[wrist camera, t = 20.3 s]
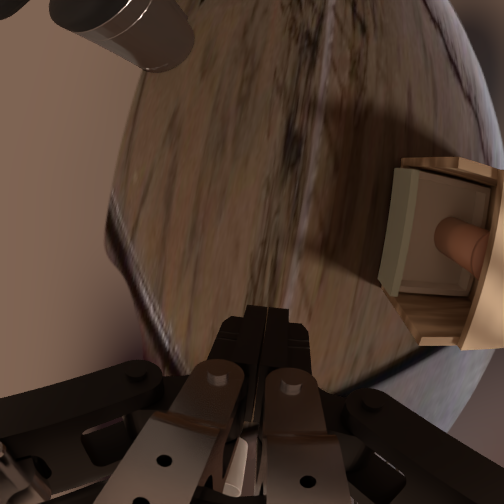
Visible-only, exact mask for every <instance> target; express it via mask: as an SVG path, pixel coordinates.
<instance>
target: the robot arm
mask: <svg viewBox="0 0 504 504" xmlns="http://www.w3.org/2000/svg"><path fill="white" fill-rule="evenodd" d="M28 1H29V0H0V20H3V19H5V18H8V17H10V16H12V15H13V14H15V13H16V12H17V11H18V10H19V9H21V8H22V7H23V6H24V5H25V4H26V3H27V2H28ZM49 12H50V16H51V18H52V20H53V21H54V22H55V23H56V24H57V25H59V26H61V27H63V28H65V29H67V30H69V31H71V32H73V33H76V34H77V35H80V36H82V37H84V38H86V39H88V40H90V41H92V42H94V43H96V44H98V45H100V46H102V47H104V48H105V49H107V50H109V51H111V52H113V53H115V54H117V55H119V56H121V57H122V58H124V59H126V60H128V61H129V62H131V63H133V64H135V65H137V66H138V67H140V68H142V69H144V70H146V71H148V72H153V73H159V72H164V71H167V70H170V69H172V68H174V67H176V66H177V65H179V64H180V63H181V62H182V61H184V59H185V58H186V57H187V56H188V54H189V53H190V51H191V49H192V47H193V44H194V32H193V30H192V28H191V26H190V25H189V24H188V22H187V15H186V14H185V13H184V11H183V10H182V9H181V8H180V6H179V5H178V4H177V3H176V1H175V0H50V3H49ZM266 315H267V307H263V306H254V305H247V307H246V311H245V314H244V317H235V316H231V317H229V318H228V319H226V320H225V321H224V322H223V323H222V325H221V327H220V330H219V332H218V334H217V337H216V339H215V342H214V344H213V346H212V349H211V351H210V354H209V356H208V358H207V360H206V361H203V362H201V363H199V364H197V365H196V366H195V367H194V369H193V370H192V372H191V374H190V375H186V376H163V375H162V371H161V369H160V368H159V367H158V366H157V365H155V364H154V363H152V362H149V361H145V360H131V361H127V362H124V363H121V364H118V365H115V366H111V367H109V368H105V369H102V370H99V371H96V372H93V373H90V374H86V375H83V376H80V377H77V378H73V379H70V380H67V381H63V382H60V383H56V384H53V385H50V386H46V387H43V388H38V389H35V390H31V391H27V392H24V393H20V394H16V395H12V396H8V397H4V398H0V504H352V503H351V497H352V498H353V499H354V500H356V501H357V502H358V503H359V504H504V468H503V467H501V466H500V465H498V464H496V463H494V462H493V461H491V460H489V459H488V458H486V457H484V456H483V455H481V454H479V453H478V452H476V451H474V450H473V449H471V448H470V447H468V446H466V445H465V444H463V443H461V442H460V441H458V440H457V439H455V438H453V437H452V436H450V435H449V434H447V433H446V432H444V431H442V430H441V429H439V428H438V427H436V426H435V425H433V424H431V423H430V422H428V421H427V420H425V419H424V418H422V417H421V416H419V415H418V414H416V413H415V412H413V411H411V410H410V409H408V408H407V407H405V406H404V405H402V404H401V403H399V402H398V401H396V400H395V399H393V398H392V397H390V396H389V395H387V394H386V393H384V392H382V391H380V390H376V389H371V388H362V389H358V390H355V391H353V392H351V393H350V394H349V395H348V397H347V398H343V397H339V396H335V395H332V394H329V393H327V392H325V391H323V390H322V389H320V388H319V387H318V384H317V381H316V379H315V378H314V377H313V376H312V371H311V358H310V349H309V348H310V346H309V335H308V331H307V330H306V328H305V327H304V326H303V325H302V324H299V323H289V309H282V308H272V307H269V310H268V317H267V323H266ZM265 324H266V330H265ZM264 333H265V336H264ZM263 342H264V343H263ZM258 377H259V378H258ZM257 383H258V386H257ZM256 389H257V395H256ZM255 395H256V403H255V412H254V420H253V422H257V423H259V429H258V437H257V443H256V466H255V468H256V469H255V488H254V496H247V497H246V496H245V497H232V496H228V495H225V494H223V489H224V485H225V482H226V479H227V476H228V473H229V470H230V467H231V464H232V461H233V458H234V455H235V451H236V448H237V445H238V442H239V436H240V434H241V432H242V428H243V423H244V421H248V422H251V419H252V413H253V407H254V401H255ZM119 417H123V421H121V422H119V423H116V424H113V425H111V426H108V427H106V428H103V429H100V430H97V431H94V432H92V433H89V434H85V435H82V433H83V432H84V431H85V430H87V429H89V428H92V427H94V426H97V425H100V424H103V423H106V422H108V421H111V420H114V419H116V418H119ZM375 452H376V453H377V454H378V455H380V456H381V457H382V458H384V459H385V460H386V461H388V462H389V463H390V464H392V465H393V466H394V467H396V468H397V469H398V470H400V471H401V472H402V473H403V474H404V476H403V475H402V474H400V473H399V472H398V471H396V470H395V469H394V468H392V467H391V466H390V465H388V464H387V463H386V462H385V461H383V460H382V459H381V458H379V457H378V456H377V455H376V454H374V453H375ZM111 474H112V476H111V477H110V479H108V480H104V481H100V482H97V483H94V484H92V485H89V486H87V487H84V488H82V489H79V490H76V491H74V492H71V493H68V494H65V495H63V496H60V497H57V498H54V499H51V495H53V494H57V493H60V492H63V491H66V490H69V489H73V488H76V487H79V486H81V485H84V484H87V483H90V482H93V481H95V480H98V479H101V478H103V477H106V476H109V475H111ZM350 496H351V497H350ZM50 499H51V500H50Z"/></svg>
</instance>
